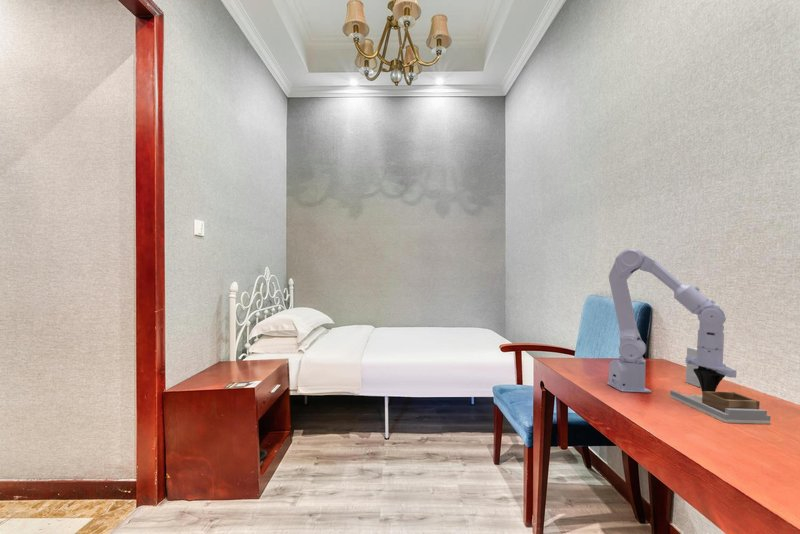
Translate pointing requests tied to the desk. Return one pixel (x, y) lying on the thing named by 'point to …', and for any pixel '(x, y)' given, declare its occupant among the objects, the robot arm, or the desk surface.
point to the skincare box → (691, 368)
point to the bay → (730, 413)
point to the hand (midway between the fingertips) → (708, 395)
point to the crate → (728, 400)
